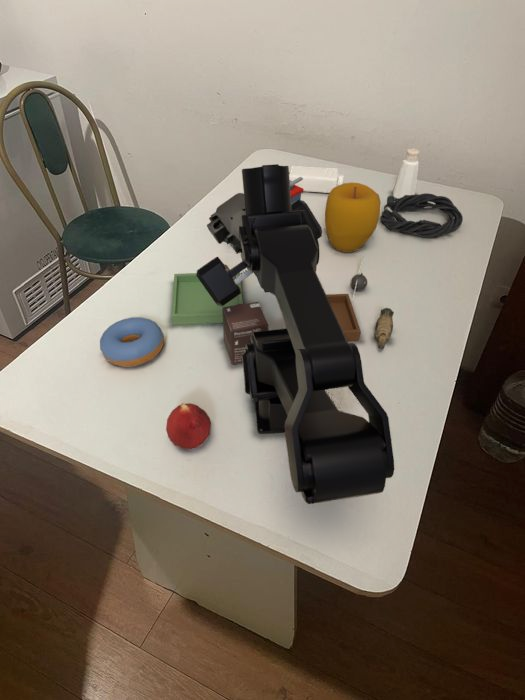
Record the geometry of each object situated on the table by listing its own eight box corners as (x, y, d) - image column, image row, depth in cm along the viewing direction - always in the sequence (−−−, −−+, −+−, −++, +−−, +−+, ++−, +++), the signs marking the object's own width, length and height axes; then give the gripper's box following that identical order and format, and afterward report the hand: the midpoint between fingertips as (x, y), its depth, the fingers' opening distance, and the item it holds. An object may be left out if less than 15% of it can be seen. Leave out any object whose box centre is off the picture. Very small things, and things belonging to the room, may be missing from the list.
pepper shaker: (418, 194, 124) (429, 148, 116) (410, 203, 121) (420, 157, 113) (397, 188, 126) (406, 143, 119) (388, 197, 123) (397, 151, 115)
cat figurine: (392, 321, 89) (396, 307, 86) (387, 359, 84) (391, 345, 81) (376, 319, 89) (379, 304, 86) (370, 356, 85) (373, 342, 82)
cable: (462, 215, 117) (467, 198, 114) (456, 247, 107) (462, 228, 104) (386, 202, 121) (390, 184, 118) (375, 231, 111) (378, 213, 108)
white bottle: (341, 196, 123) (344, 179, 120) (288, 191, 124) (289, 174, 121) (343, 184, 127) (345, 167, 124) (291, 179, 129) (292, 163, 126)
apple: (383, 254, 105) (395, 195, 96) (336, 264, 102) (344, 205, 93) (357, 228, 112) (366, 171, 103) (312, 237, 109) (317, 179, 100)
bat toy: (343, 312, 91) (347, 291, 88) (355, 265, 102) (359, 245, 98) (360, 315, 91) (364, 294, 87) (370, 268, 101) (374, 247, 98)
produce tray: (243, 322, 89) (243, 312, 87) (172, 325, 88) (171, 315, 87) (240, 280, 98) (239, 271, 96) (175, 282, 97) (174, 273, 95)
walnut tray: (359, 340, 86) (360, 331, 84) (298, 343, 85) (299, 334, 84) (346, 302, 93) (348, 293, 92) (291, 305, 93) (291, 295, 91)
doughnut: (98, 339, 85) (92, 317, 82) (158, 325, 88) (154, 304, 85) (107, 380, 79) (101, 359, 75) (171, 364, 81) (168, 343, 78)
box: (231, 365, 81) (229, 331, 76) (223, 340, 85) (221, 306, 80) (268, 359, 82) (269, 324, 77) (258, 334, 87) (258, 300, 82)
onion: (212, 426, 73) (209, 388, 67) (211, 460, 68) (207, 423, 63) (171, 426, 72) (165, 388, 67) (167, 461, 68) (160, 423, 63)
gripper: (292, 157, 65) (271, 176, 81) (172, 241, 65) (173, 244, 80) (338, 232, 68) (309, 236, 83) (223, 313, 68) (214, 302, 83)
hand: (251, 253), depth 82 cm, fingers open, 9 cm apart
